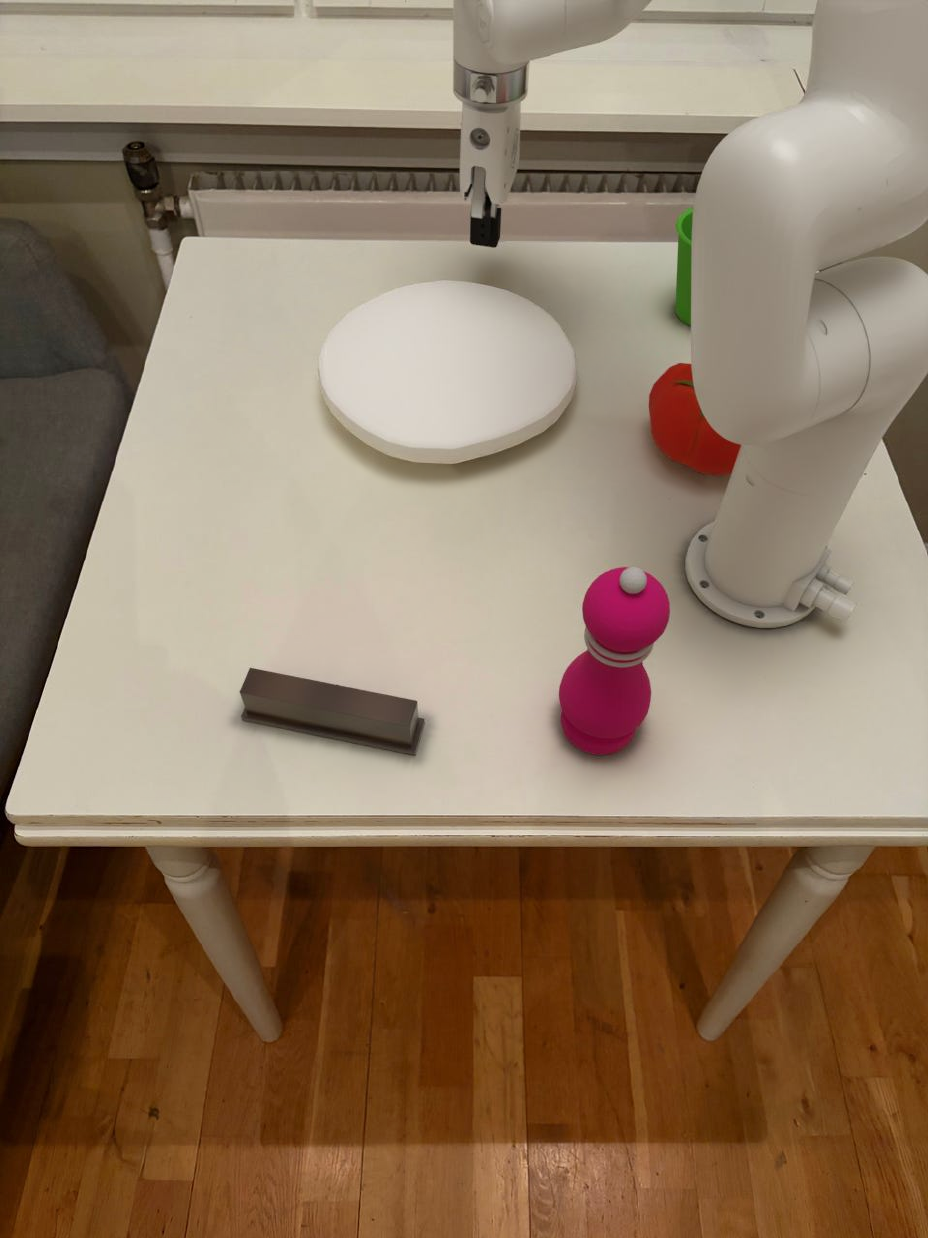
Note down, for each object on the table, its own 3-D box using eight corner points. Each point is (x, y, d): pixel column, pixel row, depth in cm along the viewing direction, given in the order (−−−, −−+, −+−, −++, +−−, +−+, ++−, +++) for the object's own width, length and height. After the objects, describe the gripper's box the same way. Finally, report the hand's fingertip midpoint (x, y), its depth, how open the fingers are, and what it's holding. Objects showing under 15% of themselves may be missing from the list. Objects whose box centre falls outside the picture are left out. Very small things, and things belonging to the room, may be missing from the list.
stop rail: (424, 722, 78) (423, 697, 75) (415, 756, 76) (413, 732, 73) (255, 688, 80) (246, 662, 77) (241, 720, 78) (232, 695, 75)
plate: (432, 243, 110) (629, 334, 100) (430, 294, 115) (617, 385, 105) (259, 344, 94) (472, 463, 85) (264, 398, 99) (467, 516, 90)
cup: (645, 297, 112) (662, 211, 103) (715, 284, 113) (737, 197, 105) (678, 344, 107) (698, 257, 98) (750, 330, 108) (777, 243, 100)
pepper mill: (536, 721, 78) (557, 571, 62) (593, 669, 81) (628, 513, 65) (602, 778, 75) (643, 636, 59) (659, 722, 78) (712, 572, 62)
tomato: (788, 450, 97) (814, 385, 90) (710, 510, 92) (731, 446, 85) (693, 388, 103) (710, 322, 96) (614, 441, 98) (627, 376, 91)
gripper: (513, 117, 89) (504, 285, 104) (541, 45, 97) (528, 210, 113) (436, 107, 90) (438, 275, 105) (470, 36, 98) (467, 201, 113)
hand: (484, 241), depth 109 cm, fingers closed
